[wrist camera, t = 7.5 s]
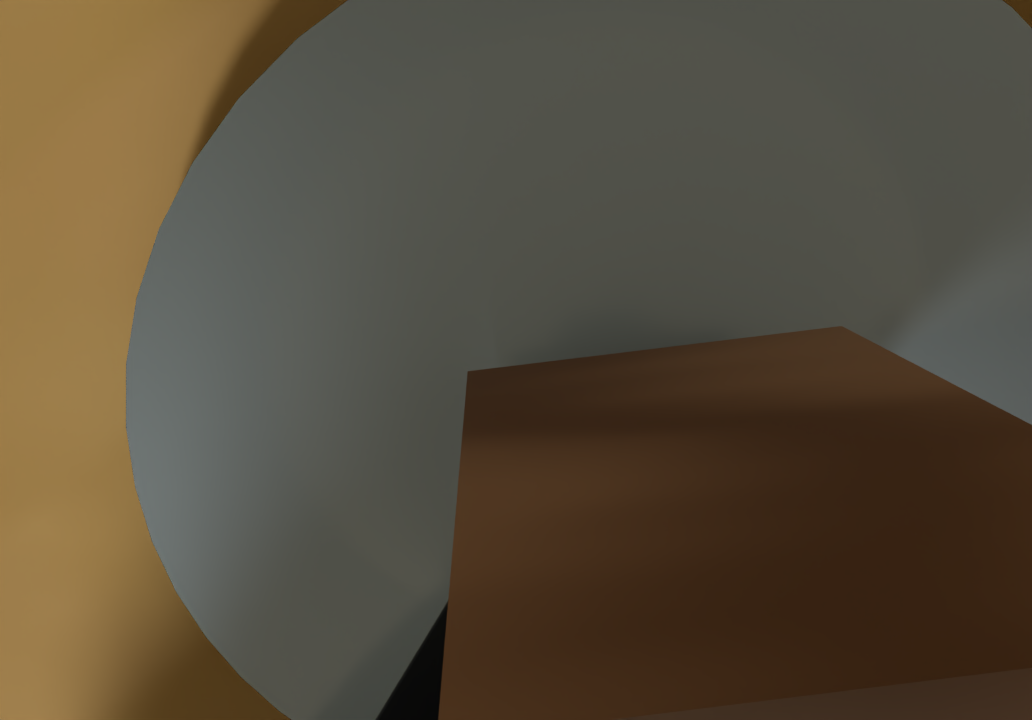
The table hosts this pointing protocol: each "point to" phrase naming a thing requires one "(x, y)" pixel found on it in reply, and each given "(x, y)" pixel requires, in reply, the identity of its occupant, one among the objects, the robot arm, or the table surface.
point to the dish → (538, 268)
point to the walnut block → (739, 539)
